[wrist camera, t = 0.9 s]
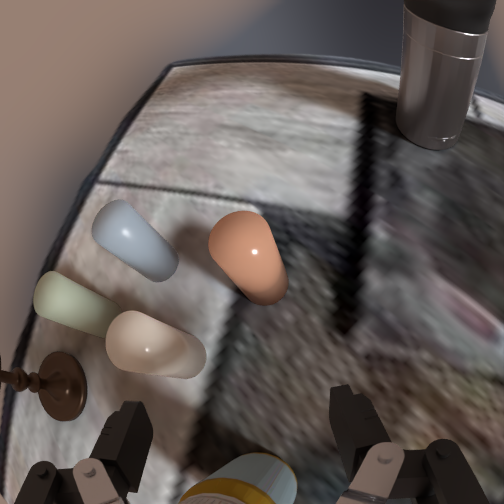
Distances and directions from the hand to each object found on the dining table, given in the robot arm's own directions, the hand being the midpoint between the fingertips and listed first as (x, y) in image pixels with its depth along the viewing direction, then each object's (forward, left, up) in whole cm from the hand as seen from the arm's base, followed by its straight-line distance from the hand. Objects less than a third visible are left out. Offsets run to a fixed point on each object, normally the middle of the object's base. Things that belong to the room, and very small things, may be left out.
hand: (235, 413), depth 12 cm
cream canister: (-4, -10, -16) cm, 20 cm away
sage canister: (-8, -21, -16) cm, 27 cm away
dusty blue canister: (-15, -14, -16) cm, 26 cm away
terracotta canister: (-11, -2, -16) cm, 20 cm away
